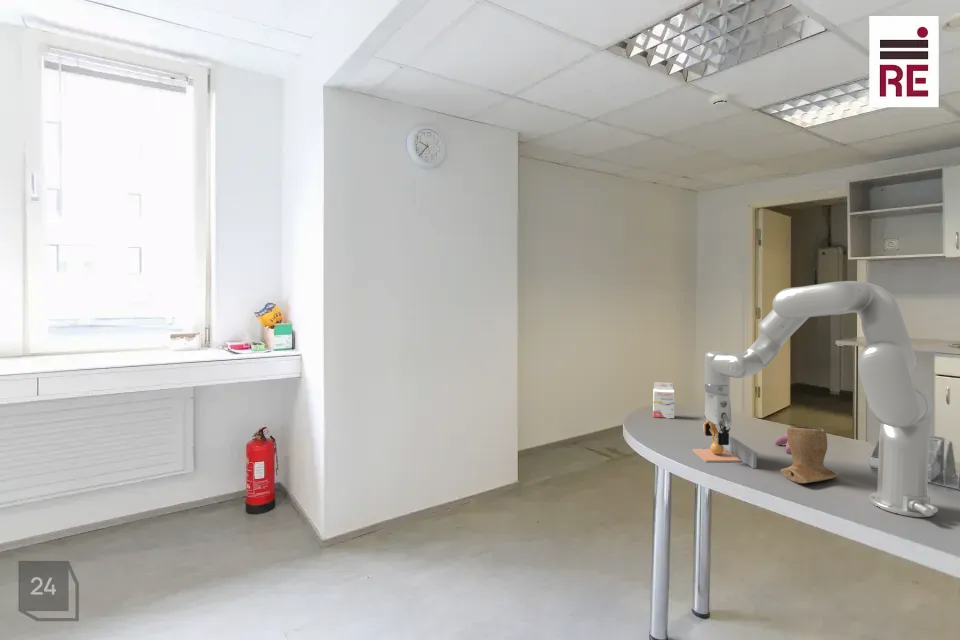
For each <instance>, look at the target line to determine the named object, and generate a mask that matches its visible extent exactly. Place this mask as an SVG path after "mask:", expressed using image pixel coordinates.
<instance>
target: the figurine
mask: <svg viewBox="0 0 960 640" xmlns="http://www.w3.org/2000/svg"><path fill="white" fill-rule="evenodd" d="M708 423H709V425H710V427H711V428H710V432H711V434H712V435H713V436H711V440H712V444H710V448H709V449H711V451H712V452H713V453H714V454H717V455H719V454H721V453H723V451H724V449H725V448H724V445H719V444H718V432H719V429H718V427H716V425H715V424H713V423H712V422H710V421H709V420H708V421H707V422H705V421H704V423H703V431H702V432H703V434H705V432H706V431H705V425H706V424H708ZM721 428H723V426H721ZM714 431H715V432H714ZM715 440H716V441H715Z"/></svg>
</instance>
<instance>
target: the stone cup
mask: <svg viewBox="0 0 960 640" xmlns="http://www.w3.org/2000/svg"><path fill="white" fill-rule="evenodd" d="M786 433H787V441H788V444H789V447H790V450H791V457H792V464H791V465H789V466H788V467H785V468H781V469H780V472H781V473H782V474H783V475H784V476H785V477H786V478H787V479H789V480H790V481H792V482H794V483H795V484H796V483H797V484H808V483H815V482H822V481H826V480H831V479H834V478H837V477H838V476H839V473H837V472H835V471H833V470H831V469H828V468H827V467H825V465H824V461H825V457H826V454H827V452H828V436H827V432H826V430H825V429H824V428H821V427H815V426H808V425H807V426H805V425H792V426H789V427H787V432H786Z"/></svg>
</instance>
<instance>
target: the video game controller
mask: <svg viewBox="0 0 960 640" xmlns="http://www.w3.org/2000/svg"><path fill="white" fill-rule="evenodd" d="M774 444H775V446H777V445H781V446H783V445H785V447H786V448H785V453H786V454H787V453H788V454H789V455H790V454H791V450H790V447H789V444H788V441H787V432H785V433H784V434H783V435H782V436H780V437H779V438H777V439H776V440H775V442H774ZM788 454H787V455H788ZM791 455H792V454H791Z"/></svg>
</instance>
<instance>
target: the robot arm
mask: <svg viewBox="0 0 960 640" xmlns="http://www.w3.org/2000/svg"><path fill="white" fill-rule="evenodd" d="M771 304H772V310H771V311H769V313H768V314H767V315H766V316H765V317H764V318H763V319H762V320H761V321H760V323H759V324H758V329H759V334H758V336H757V339H755V341H754V342H753V343H752V345H751V346H750V347H748V348H747V350H746V351H743V352H739V353H734V354H729V352H726V351H719V350H718V351H717V350H716V351H715V350H712V351H707V352H705V355H704V394H705V399H704V409H703V410H704V411H703V412H704V423H705V422H707V421H708V420H709V421H710V422H712V423H713V424H715V426H717V430H718V438H717V439H718V444H719V445H723V446H724V445H729V435H730V432H731V431H730V430H731V426H732V405H731V397H730V395H731V378H734V379H741V378H742V379H743V378H746V377H749V376H753V375H756V374H759V373H761V371H762V370H763V369H765V368H766V367H767V365H769V364H770V363H771V362H772V361H773V359H775V357H776V356H777V355H778V354H779V353H780V351H781V349H782V348H783V346H784V345H785V343H786V342H787V340H788V339H789V338H790V337H792V336H793V334H794V333H795V332H797V330H799V328H800V327H801V326H802V325H803V324H804V323H805V322H806V321H807V320H808V319H809V318H814V317H815V318H816V317H822V316H823V317H827V316H834V315H836V316H838V315H844V314H851V313H854V314H855V313H856V314H858V316H859V318H860V322H861V324H860V325H861V330H862V333H863V336H864V338H865V339H864V340H865V343H866V347H865V348H864V349H863V350H862V351H861V352H860V354H859V356H858V360H857V362H858V363H857V367H858V373H859V377H860V380H861V383H862V387H863V390H864V394H865V399H866V401H867V406H868V407H869V410H870V412H871V414H872V416H874V419H876V420H877V421H878V422H880V426H879V439H878V440H879V441H878V461H877V463H878V464H877V465H878V466H877V484H876V485H877V487H876V488H877V490H876V491H874V492H872V493H869V495H868V496H869V501H870V503H871V504H873V505H874V506H876V507H877V506H878V508H879V507H880V509H882V510H883V511H886V512H887V511H888V512H890V513H893V514H896V513H897V514H896V515H901V516H906V517H912V518H913V517H914V518H930V517H934V515H936V513H937V512H938V511H939V508H938V507H937V506H935V505H932V504H931V497H930V496H929V495H928V485H929V484H928V483H929V463H930V462H929V461H930V447H931V446H930V445H931V443H930V442H931V431H932V422H933V416H934V401H933V398H932V396H931V394H930V393H929V391H928V390H927V389H926V388H924V387H922V386H921V385H919V384H917V383H914V382H913V380H912V376H911V375H912V374H911V373H912V372H913V371H914V370H915V369H916V367H917V362H918V361H917V357H916V353H915V351H914V348H913V345H912V342H911V339H910V336H909V332H908V330H907V327H906V324H905V321H904V317H903V315H902V312H901V308H900V307H899V304H898V301H897V300H896V298H895V297H894V296H893V294H891V293H890V291H888V290H887V289H885V288H884V287H882V286H880V285H878V284H875V283H871V282H866V281H858V280H843V281H842V280H841V281H839V280H838V281H832V282H824V283H819V284H812V285H811V284H810V285H805V286H795V287H788V288H787V287H786V288H784V289H782V290H780V291H779V292H777V293H776V295H775V296H774V297H773V300H772V303H771ZM721 426H723V428H722V427H721ZM710 428H711V427H710V425H709V423H708V424H706V425H705V431H706V432H704V434H705V436H706V437H712V436H713V435H712V434H711V432H710ZM714 432H715V431H714Z"/></svg>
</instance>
